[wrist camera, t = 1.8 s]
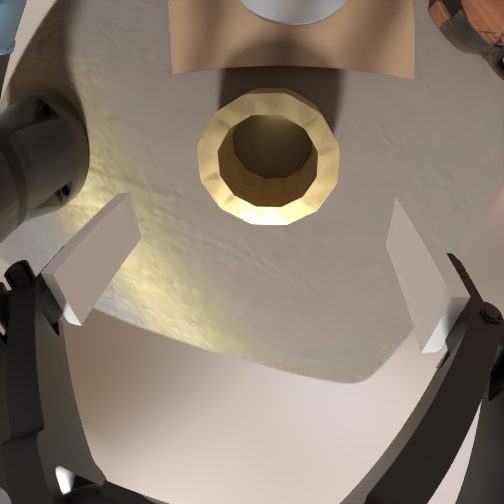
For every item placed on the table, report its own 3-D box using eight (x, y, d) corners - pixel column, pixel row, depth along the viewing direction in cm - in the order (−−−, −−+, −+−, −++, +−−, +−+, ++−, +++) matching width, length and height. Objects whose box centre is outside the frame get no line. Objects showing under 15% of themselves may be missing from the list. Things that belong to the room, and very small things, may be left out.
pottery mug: (400, -15, 14) (453, -57, 6) (450, -10, 15) (496, -37, 7) (471, 100, 17) (544, 84, 9) (506, 85, 17) (561, 73, 9)
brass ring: (222, 192, 28) (206, 222, 24) (213, 90, 23) (191, 97, 18) (325, 194, 27) (332, 226, 22) (330, 89, 21) (342, 96, 16)
